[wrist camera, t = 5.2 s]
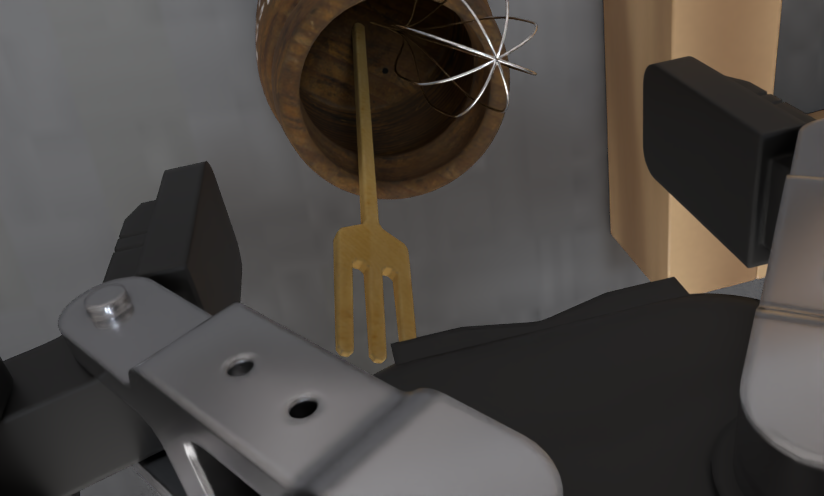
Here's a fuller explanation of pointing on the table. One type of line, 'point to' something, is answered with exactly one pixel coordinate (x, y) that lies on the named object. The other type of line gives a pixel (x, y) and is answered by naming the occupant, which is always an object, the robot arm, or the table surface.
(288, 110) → the utensil holder
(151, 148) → the table surface
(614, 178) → the socket block
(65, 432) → the robot arm
